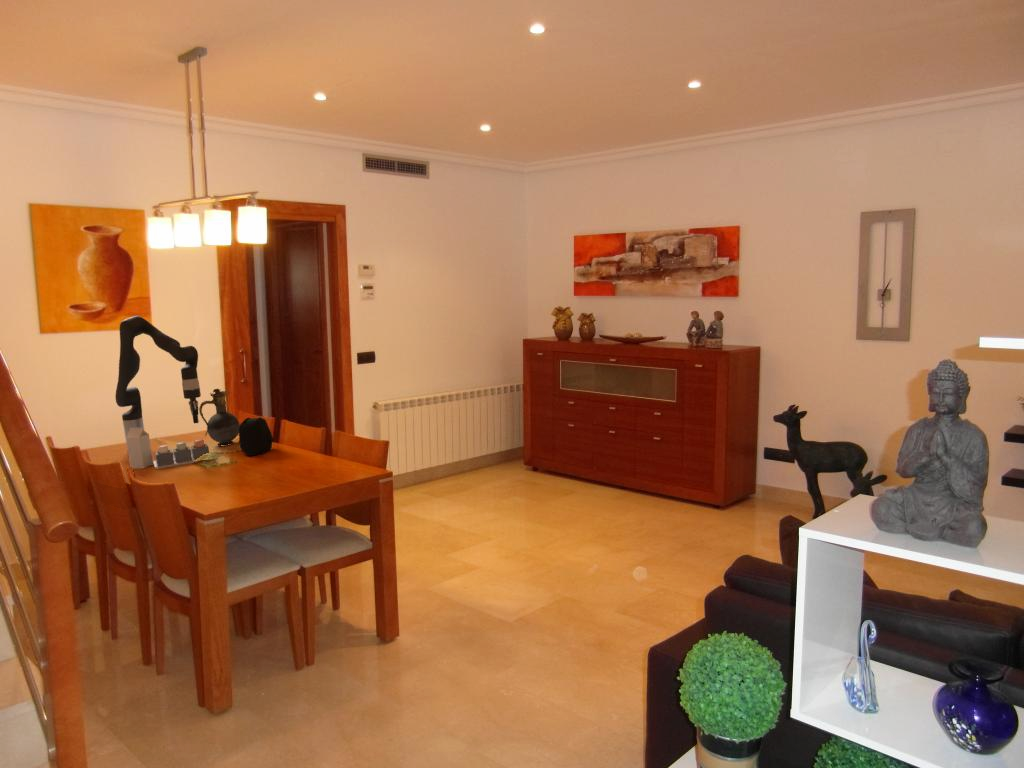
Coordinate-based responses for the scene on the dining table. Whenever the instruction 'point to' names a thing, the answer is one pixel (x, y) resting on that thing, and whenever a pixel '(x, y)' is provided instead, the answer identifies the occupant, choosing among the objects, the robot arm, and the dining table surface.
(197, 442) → the brown egg
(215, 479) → the dining table surface
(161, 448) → the cream white egg
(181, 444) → the pale green egg
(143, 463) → the milk carton
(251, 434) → the black rounded dome
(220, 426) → the pitcher
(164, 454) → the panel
